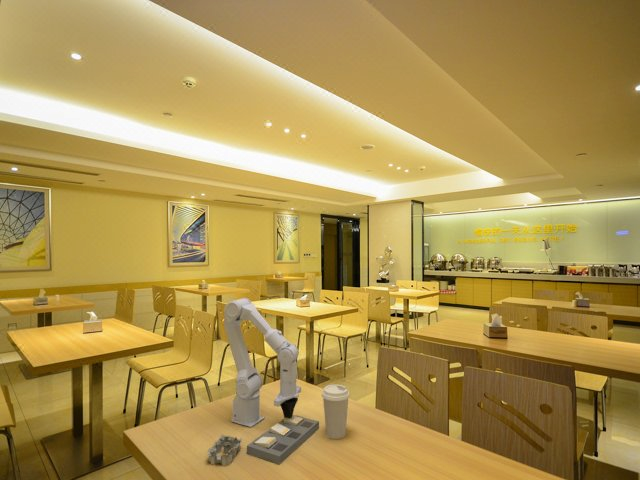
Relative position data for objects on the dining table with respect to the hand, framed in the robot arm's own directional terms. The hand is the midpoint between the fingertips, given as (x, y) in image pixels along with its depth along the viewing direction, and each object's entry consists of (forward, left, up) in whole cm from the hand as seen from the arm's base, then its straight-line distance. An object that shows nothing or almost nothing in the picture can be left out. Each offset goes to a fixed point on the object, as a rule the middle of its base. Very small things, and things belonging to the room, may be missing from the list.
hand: (288, 419), depth 124 cm
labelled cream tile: (+2, 0, 0) cm, 2 cm away
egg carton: (-7, -24, -3) cm, 25 cm away
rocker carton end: (+2, -16, 0) cm, 16 cm away
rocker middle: (+2, -8, 0) cm, 8 cm away
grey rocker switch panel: (+4, -8, -2) cm, 9 cm away
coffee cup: (+17, +3, -3) cm, 18 cm away
